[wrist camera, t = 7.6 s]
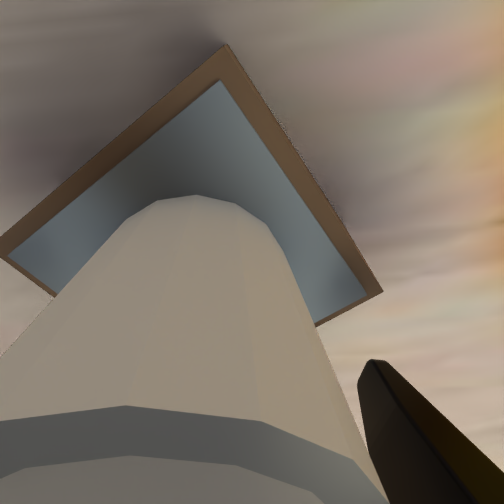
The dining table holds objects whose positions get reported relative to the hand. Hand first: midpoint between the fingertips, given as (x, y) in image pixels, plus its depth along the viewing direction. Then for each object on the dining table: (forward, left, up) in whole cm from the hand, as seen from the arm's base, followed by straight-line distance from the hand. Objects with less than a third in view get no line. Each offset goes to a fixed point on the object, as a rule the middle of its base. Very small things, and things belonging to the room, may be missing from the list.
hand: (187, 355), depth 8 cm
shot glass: (0, 0, -3) cm, 3 cm away
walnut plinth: (0, 0, -8) cm, 8 cm away
